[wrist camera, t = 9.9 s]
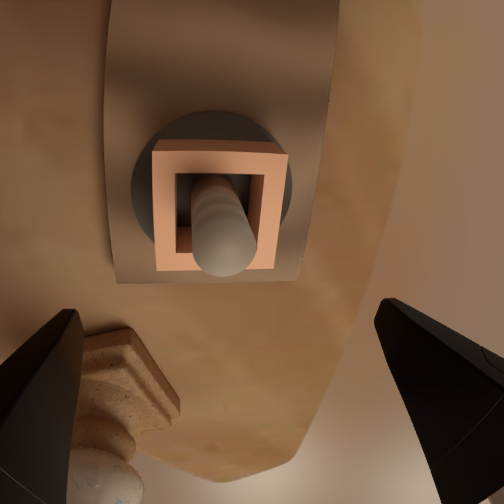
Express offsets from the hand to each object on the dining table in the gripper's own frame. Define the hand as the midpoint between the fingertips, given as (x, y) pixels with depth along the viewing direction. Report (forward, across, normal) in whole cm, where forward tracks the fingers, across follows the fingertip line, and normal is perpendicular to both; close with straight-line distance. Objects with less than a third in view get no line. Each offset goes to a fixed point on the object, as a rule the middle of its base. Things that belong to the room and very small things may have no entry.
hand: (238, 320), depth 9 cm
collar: (+10, 0, 0) cm, 10 cm away
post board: (+12, 0, -6) cm, 13 cm away
